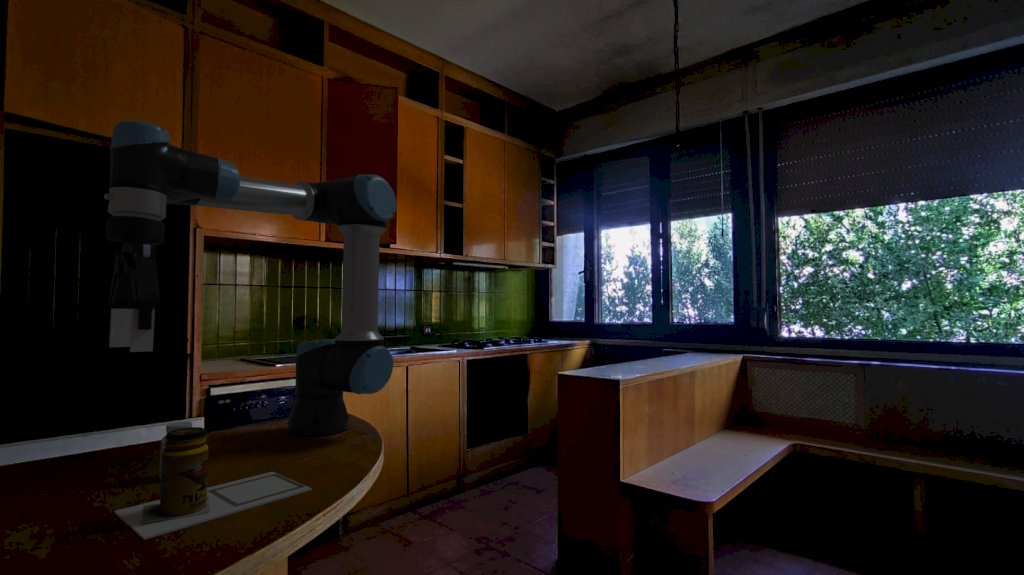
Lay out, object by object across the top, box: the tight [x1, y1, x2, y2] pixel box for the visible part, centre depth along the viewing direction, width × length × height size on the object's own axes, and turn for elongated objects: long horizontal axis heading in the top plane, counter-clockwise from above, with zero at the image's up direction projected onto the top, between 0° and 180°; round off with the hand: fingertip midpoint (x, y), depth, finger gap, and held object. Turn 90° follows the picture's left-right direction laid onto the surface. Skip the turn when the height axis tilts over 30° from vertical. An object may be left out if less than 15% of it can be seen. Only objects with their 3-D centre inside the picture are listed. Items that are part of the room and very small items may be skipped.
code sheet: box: [114, 471, 313, 541], centre depth 80 cm, size 24×14×1 cm, turn 142°
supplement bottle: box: [158, 421, 193, 480], centre depth 92 cm, size 5×5×10 cm
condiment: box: [141, 426, 210, 524], centre depth 76 cm, size 7×8×12 cm
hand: (129, 349), depth 80 cm, fingers open, 13 cm apart
